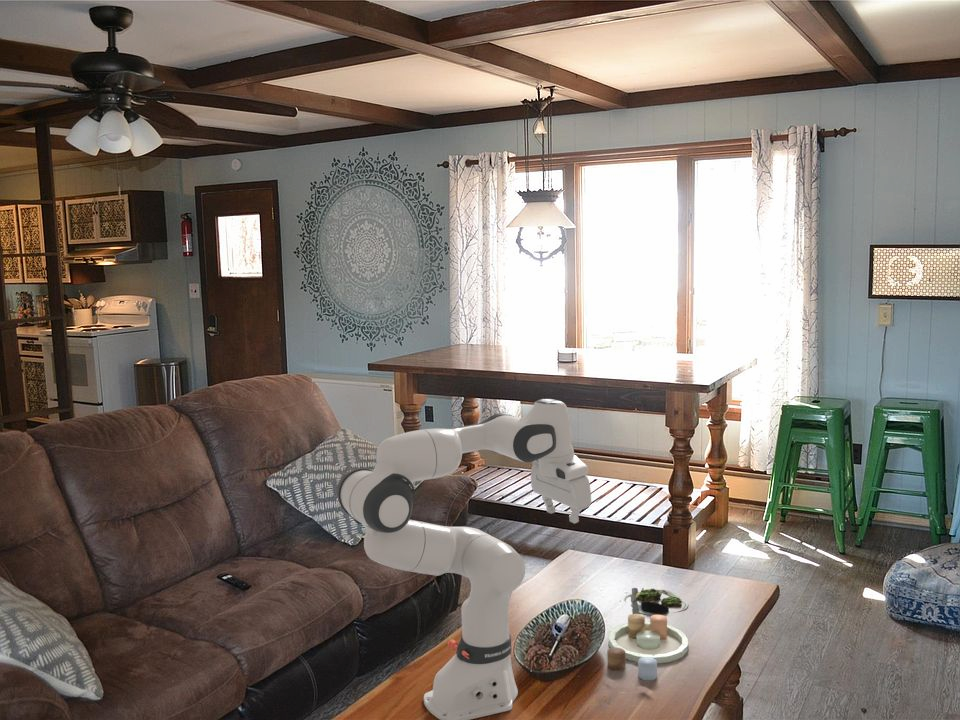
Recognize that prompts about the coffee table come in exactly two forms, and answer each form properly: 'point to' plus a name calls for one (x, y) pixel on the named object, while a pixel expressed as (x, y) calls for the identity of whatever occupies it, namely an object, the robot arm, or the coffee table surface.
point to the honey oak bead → (635, 625)
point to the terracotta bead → (659, 625)
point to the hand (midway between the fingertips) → (562, 517)
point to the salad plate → (654, 601)
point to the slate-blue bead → (647, 668)
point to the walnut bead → (616, 658)
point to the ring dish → (662, 650)
